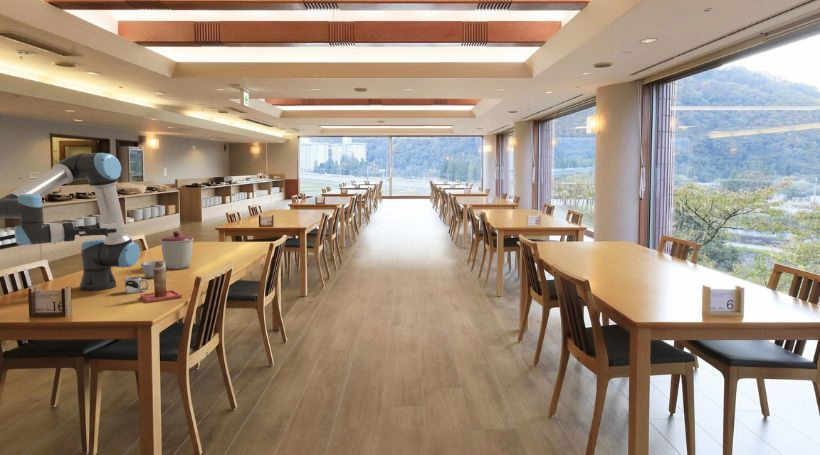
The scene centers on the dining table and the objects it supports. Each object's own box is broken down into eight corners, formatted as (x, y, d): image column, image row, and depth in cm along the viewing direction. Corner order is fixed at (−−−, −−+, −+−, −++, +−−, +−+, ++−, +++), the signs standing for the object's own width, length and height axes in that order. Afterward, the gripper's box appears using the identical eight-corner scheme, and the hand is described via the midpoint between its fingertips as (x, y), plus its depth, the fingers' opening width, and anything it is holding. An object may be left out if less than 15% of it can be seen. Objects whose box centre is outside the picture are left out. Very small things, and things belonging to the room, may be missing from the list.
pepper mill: (153, 295, 245) (151, 261, 243) (164, 294, 248) (162, 260, 246) (156, 298, 241) (154, 262, 239) (168, 296, 244) (166, 261, 242)
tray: (140, 297, 245) (140, 294, 244) (173, 293, 254) (173, 289, 253) (147, 303, 236) (147, 299, 235) (181, 297, 244) (181, 294, 244)
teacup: (170, 276, 290) (169, 261, 289) (151, 280, 281) (150, 264, 280) (154, 273, 297) (153, 259, 296) (135, 277, 288) (134, 262, 287)
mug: (123, 294, 252) (122, 279, 251) (128, 290, 258) (127, 276, 257) (147, 293, 254) (146, 278, 253) (150, 289, 260) (150, 276, 259)
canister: (201, 265, 321) (199, 229, 318) (183, 271, 303) (181, 233, 300) (173, 264, 324) (171, 228, 321) (153, 270, 306) (151, 232, 304)
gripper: (58, 238, 231) (114, 233, 244) (68, 245, 212) (128, 240, 225) (56, 220, 230) (113, 217, 243) (66, 225, 211) (127, 221, 224)
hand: (120, 228), depth 234 cm, fingers open, 13 cm apart
